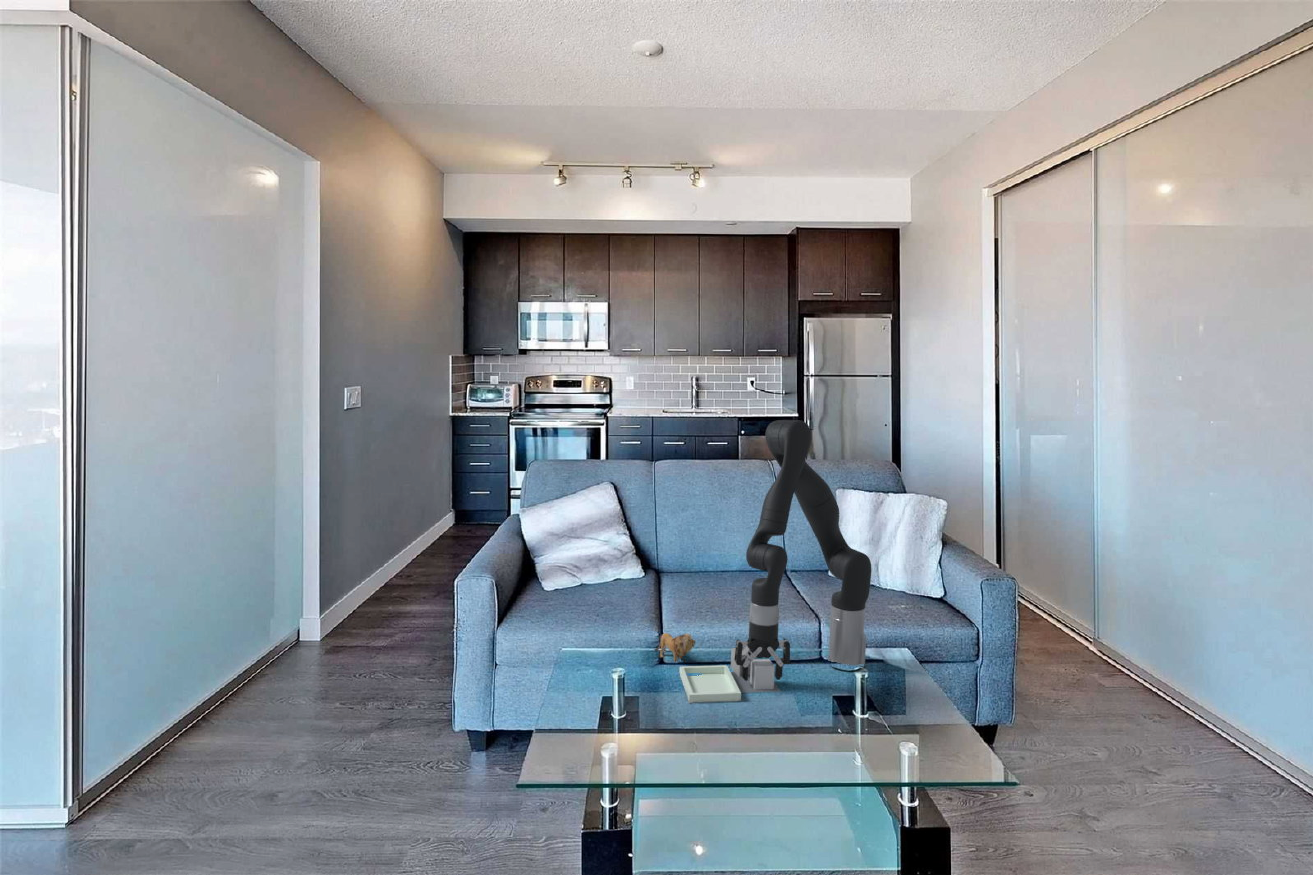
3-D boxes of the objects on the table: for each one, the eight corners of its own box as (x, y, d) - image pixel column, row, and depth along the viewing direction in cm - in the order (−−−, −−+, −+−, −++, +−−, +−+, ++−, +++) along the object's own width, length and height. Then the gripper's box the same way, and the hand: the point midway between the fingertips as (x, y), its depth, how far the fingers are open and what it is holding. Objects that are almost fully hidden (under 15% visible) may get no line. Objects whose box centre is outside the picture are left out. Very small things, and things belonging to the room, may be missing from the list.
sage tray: (726, 673, 209) (727, 665, 209) (740, 702, 192) (741, 693, 192) (679, 675, 208) (679, 666, 207) (689, 704, 191) (689, 694, 191)
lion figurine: (697, 665, 215) (698, 633, 214) (684, 670, 211) (685, 638, 210) (660, 649, 225) (661, 619, 224) (647, 654, 221) (647, 624, 220)
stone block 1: (746, 667, 213) (747, 646, 212) (755, 674, 208) (756, 653, 208) (730, 669, 211) (731, 648, 210) (739, 676, 207) (740, 655, 206)
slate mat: (764, 667, 214) (765, 666, 214) (780, 693, 198) (780, 691, 198) (725, 668, 213) (726, 667, 213) (738, 694, 197) (738, 692, 197)
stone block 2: (768, 680, 204) (769, 659, 204) (773, 689, 200) (774, 666, 199) (750, 681, 204) (750, 659, 203) (754, 689, 199) (755, 667, 198)
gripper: (786, 613, 204) (784, 672, 206) (733, 614, 203) (731, 673, 204) (795, 624, 197) (792, 684, 199) (740, 624, 195) (737, 686, 197)
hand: (761, 679), depth 202 cm, fingers open, 8 cm apart
